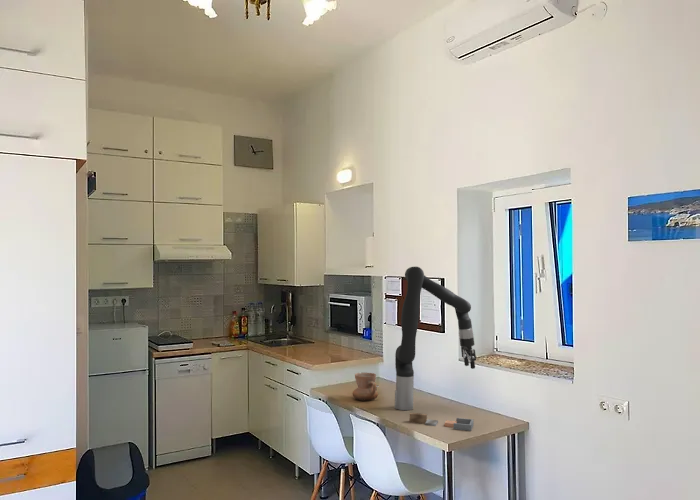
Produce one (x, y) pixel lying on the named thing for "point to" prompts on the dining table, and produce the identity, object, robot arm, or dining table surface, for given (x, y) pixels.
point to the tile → (450, 423)
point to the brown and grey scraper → (422, 419)
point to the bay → (464, 424)
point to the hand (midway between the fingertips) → (469, 367)
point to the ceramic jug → (365, 386)
